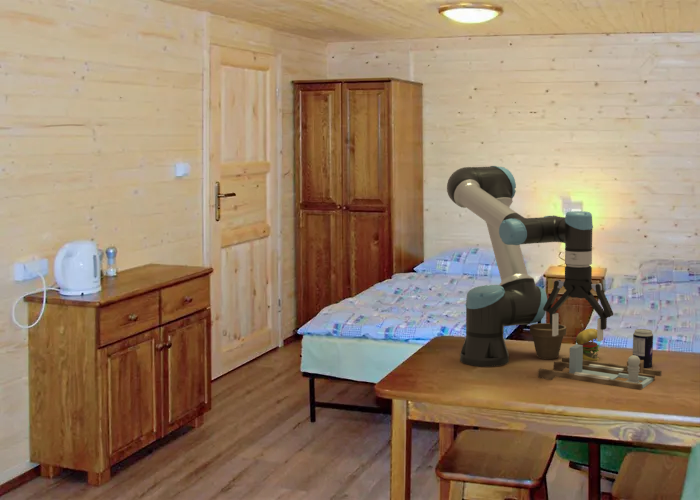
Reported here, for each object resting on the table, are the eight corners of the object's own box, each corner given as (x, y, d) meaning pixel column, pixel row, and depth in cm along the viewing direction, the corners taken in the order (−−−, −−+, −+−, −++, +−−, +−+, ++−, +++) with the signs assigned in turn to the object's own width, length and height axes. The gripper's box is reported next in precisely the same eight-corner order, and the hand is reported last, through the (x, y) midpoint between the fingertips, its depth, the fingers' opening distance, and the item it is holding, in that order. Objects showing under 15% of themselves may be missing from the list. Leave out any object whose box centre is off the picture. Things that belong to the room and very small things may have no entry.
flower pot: (535, 351, 297) (536, 321, 295) (570, 355, 291) (570, 324, 290) (524, 358, 287) (524, 327, 286) (559, 363, 281) (559, 331, 280)
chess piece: (646, 387, 254) (647, 355, 252) (633, 390, 251) (634, 358, 250) (631, 383, 258) (632, 352, 257) (618, 385, 255) (619, 354, 254)
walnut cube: (626, 375, 262) (626, 361, 261) (629, 372, 265) (629, 358, 265) (640, 376, 260) (641, 363, 259) (643, 373, 263) (643, 360, 263)
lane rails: (538, 377, 264) (538, 367, 264) (562, 364, 279) (563, 354, 279) (640, 394, 247) (640, 382, 247) (661, 379, 262) (661, 368, 261)
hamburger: (598, 365, 277) (599, 327, 276) (574, 363, 280) (574, 325, 278) (601, 360, 284) (601, 322, 283) (577, 358, 287) (578, 320, 285)
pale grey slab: (566, 379, 261) (566, 349, 260) (578, 372, 268) (579, 343, 267) (642, 391, 248) (643, 359, 247) (652, 384, 255) (653, 352, 254)
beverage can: (653, 372, 269) (654, 333, 267) (633, 371, 270) (634, 332, 268) (650, 367, 274) (652, 328, 273) (631, 367, 275) (632, 328, 274)
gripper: (532, 264, 264) (532, 335, 267) (616, 269, 250) (615, 345, 252) (543, 261, 270) (542, 331, 273) (625, 266, 256) (624, 340, 258)
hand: (577, 338), depth 262 cm, fingers open, 13 cm apart
